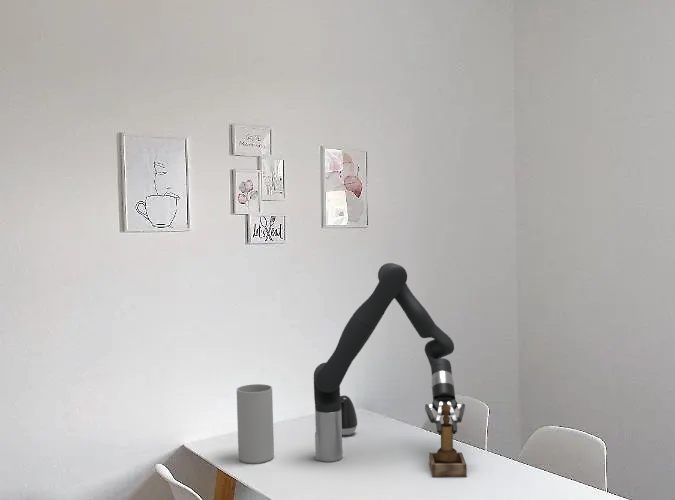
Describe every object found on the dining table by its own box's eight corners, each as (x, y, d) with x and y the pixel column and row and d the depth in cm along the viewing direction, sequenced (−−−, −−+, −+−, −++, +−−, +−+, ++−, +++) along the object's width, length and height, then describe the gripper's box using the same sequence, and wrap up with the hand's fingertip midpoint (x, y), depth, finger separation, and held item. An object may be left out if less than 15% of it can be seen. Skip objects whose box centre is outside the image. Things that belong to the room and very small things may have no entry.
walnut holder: (432, 477, 221) (431, 464, 221) (429, 464, 233) (429, 452, 233) (466, 476, 221) (466, 464, 220) (462, 464, 233) (461, 452, 232)
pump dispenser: (328, 437, 266) (327, 398, 266) (336, 429, 276) (335, 391, 276) (353, 438, 263) (352, 399, 263) (360, 430, 273) (359, 393, 273)
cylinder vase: (231, 459, 243) (229, 389, 243) (258, 450, 253) (256, 382, 252) (254, 466, 235) (252, 394, 234) (281, 457, 244) (279, 387, 243)
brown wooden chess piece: (456, 462, 223) (455, 407, 222) (436, 461, 224) (435, 406, 224) (457, 455, 229) (456, 401, 229) (437, 454, 231) (436, 401, 230)
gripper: (422, 382, 234) (425, 427, 222) (464, 381, 233) (470, 427, 221) (421, 393, 239) (425, 439, 228) (463, 392, 238) (468, 438, 227)
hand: (447, 432), depth 225 cm, fingers closed on brown wooden chess piece, 4 cm apart
